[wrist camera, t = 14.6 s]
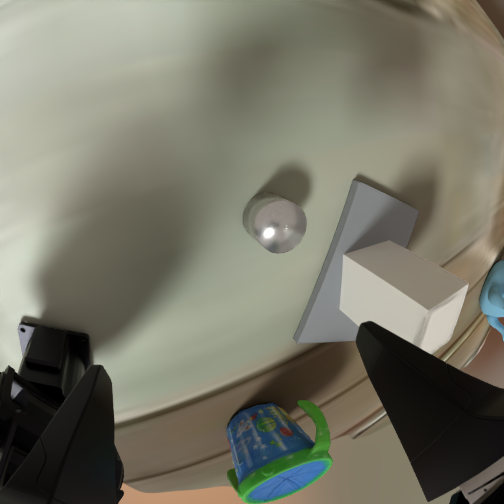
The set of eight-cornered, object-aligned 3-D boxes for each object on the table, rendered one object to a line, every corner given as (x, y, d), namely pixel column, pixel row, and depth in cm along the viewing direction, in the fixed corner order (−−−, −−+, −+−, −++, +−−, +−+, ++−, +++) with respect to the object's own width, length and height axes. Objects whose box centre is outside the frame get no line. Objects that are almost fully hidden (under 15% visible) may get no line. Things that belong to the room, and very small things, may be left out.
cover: (339, 309, 27) (408, 370, 19) (343, 254, 25) (428, 310, 16) (382, 290, 29) (450, 339, 21) (389, 240, 27) (469, 283, 18)
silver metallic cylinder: (278, 242, 23) (296, 256, 20) (236, 234, 21) (251, 249, 19) (292, 199, 22) (313, 208, 19) (250, 187, 20) (267, 195, 18)
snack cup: (264, 367, 28) (313, 443, 19) (321, 385, 33) (366, 441, 24) (185, 446, 29) (208, 514, 20) (246, 453, 34) (274, 508, 26)
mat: (360, 336, 32) (364, 339, 31) (293, 338, 28) (296, 343, 27) (413, 208, 28) (419, 210, 27) (353, 179, 23) (359, 181, 23)
